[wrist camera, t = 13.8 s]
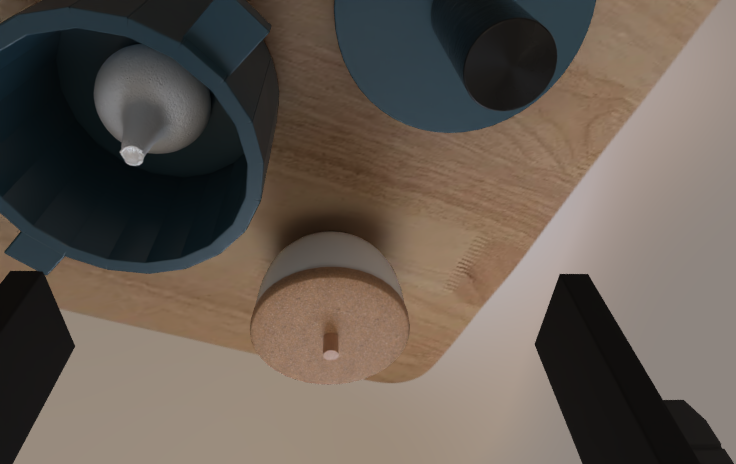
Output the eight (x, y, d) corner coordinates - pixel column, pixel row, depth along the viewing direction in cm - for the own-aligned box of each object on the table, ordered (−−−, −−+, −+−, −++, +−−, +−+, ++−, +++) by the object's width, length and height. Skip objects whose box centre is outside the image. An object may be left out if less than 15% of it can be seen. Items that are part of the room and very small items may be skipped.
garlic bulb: (97, 30, 29) (31, 82, 22) (212, 43, 30) (179, 96, 23) (116, 132, 33) (63, 202, 26) (217, 141, 33) (190, 211, 27)
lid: (279, 4, 29) (260, 64, 21) (494, -235, 23) (579, -278, 15) (440, 166, 36) (472, 258, 28) (635, 11, 30) (745, 70, 22)
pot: (-17, 115, 32) (-125, 198, 24) (159, -144, 25) (83, -140, 17) (171, 236, 38) (132, 332, 31) (354, 59, 31) (362, 127, 24)
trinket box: (420, 229, 39) (442, 319, 32) (367, 321, 45) (374, 416, 37) (285, 187, 36) (273, 276, 29) (247, 292, 42) (228, 388, 35)
